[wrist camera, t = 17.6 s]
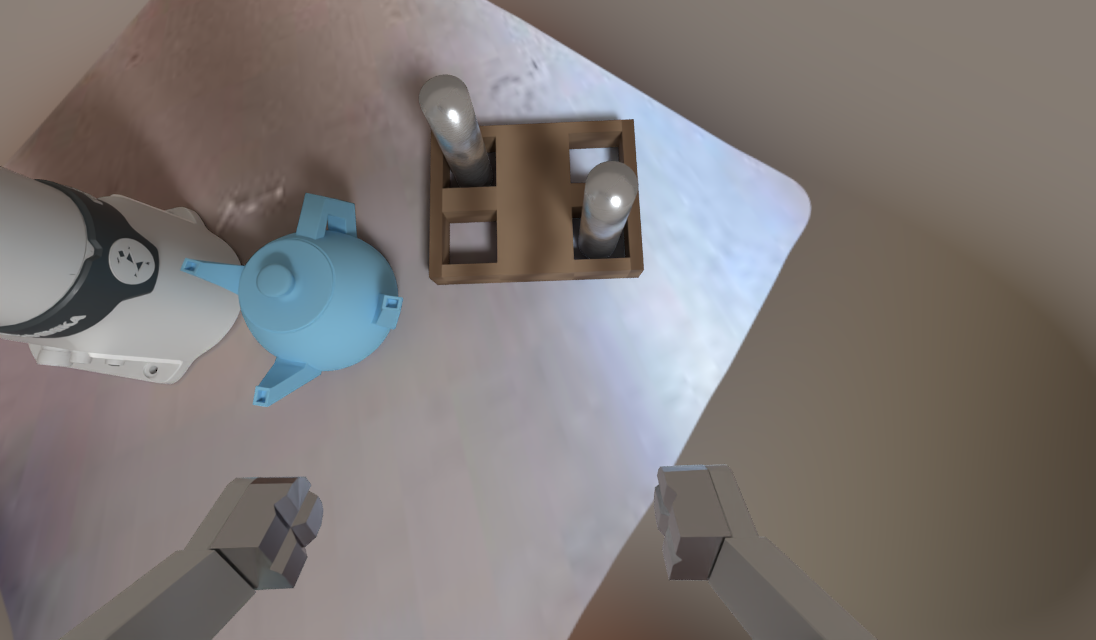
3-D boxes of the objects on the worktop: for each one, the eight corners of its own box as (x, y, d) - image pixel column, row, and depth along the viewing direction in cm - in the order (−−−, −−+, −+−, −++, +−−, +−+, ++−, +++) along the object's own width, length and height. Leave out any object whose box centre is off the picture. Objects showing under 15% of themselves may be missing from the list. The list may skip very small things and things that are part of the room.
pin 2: (579, 261, 45) (586, 211, 33) (577, 224, 46) (584, 162, 33) (617, 259, 45) (640, 209, 32) (615, 223, 46) (636, 159, 33)
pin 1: (456, 194, 47) (418, 121, 34) (456, 160, 48) (419, 75, 35) (493, 193, 47) (468, 119, 34) (493, 158, 48) (468, 73, 35)
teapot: (439, 326, 45) (402, 307, 34) (312, 408, 44) (234, 414, 33) (367, 211, 47) (311, 158, 36) (245, 286, 46) (150, 255, 35)
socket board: (437, 284, 45) (429, 277, 42) (438, 144, 48) (431, 128, 45) (638, 277, 45) (643, 269, 42) (629, 136, 48) (633, 119, 45)
